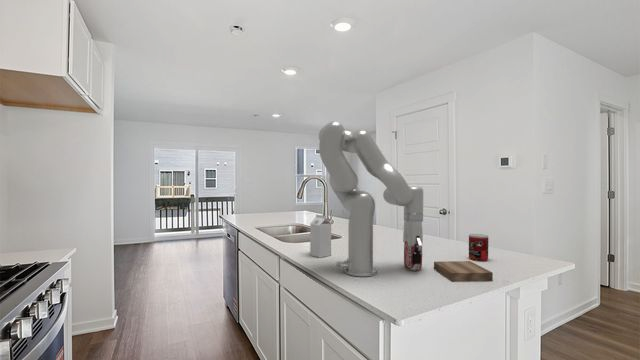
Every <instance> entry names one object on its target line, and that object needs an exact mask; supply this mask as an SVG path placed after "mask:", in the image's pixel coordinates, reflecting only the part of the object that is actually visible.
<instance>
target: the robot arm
mask: <svg viewBox="0 0 640 360" xmlns="http://www.w3.org/2000/svg"><path fill="white" fill-rule="evenodd" d="M318 139H319V147H318V149H319V150H318V151H319V157H320V160H321V161H322V164H323V165H324V167H325V169H326V170H327V172H328V174H329V179H328V180H329V184H330V187H331V189H332V190H333V193H334V195H336V197H337V198H338V199H337V200H339V201H340V203H341V205H342V206H343V208H344V209H345V210H346V211H348V212H349V217H348V231H347V233H348V247H347V248H348V249H347V250H348V252H347V253H348V255H347V257H348V258H346V260H344V261H341V260H339V261H338V260H337V261H336V262H335V263H336V267H339V268H341V269H342V268H344V269H343V270H344V273H345V274H346V275H350V276H354V277H372V276H374V275H377V272H378V269H377V268H376V267H374V217H375V210H376V202H375V199H374V197H373V195H372V194H370V193H369V192H368V191H364V190H360V189H359V187H358V185H359V178H358V175H357V173H356V172H355V170H354V169H353V168H352V167H353V166H351V164H350V163H349V161H348V159H347V157H346V156H345V154H344V152H346V153H350V154H356V155H357V157H358V158H359V160H360V161H361V163H362V166H364V168H365V169H366V172H367V173H369V174H370V175H371V176H373V177H374V178H376V179H377V180H378V181H380V182H381V183H382V184H383V185H384V186H385V187H386V188H385V190H384V191H383V194H382V195H383V199H384V201H385V202H386V203H387V204H390V205H392V206H393V205H394V206H399V207H403V221H404V223H403V231H402V232H403V233H402V234H403V235H402V242H403V243H405V241H407V243H408V246H410V247H412V246H413V253H414V254H413V260H412V263H413V264H421V250H422V251H423V243H424V242H423V240H424V238H423V237H424V236H423V235H424V234H423V222H424V189H423V187H422V186H409V184H408V182H406V180H405V179H406V178H404V176H403V175H402V174H401V172H399V171H398V170H397V169H396V168H395V167H394V166H393V165H392V164H391V163H390V162H389V161H388V159H386V157H385V155H384V154H383V153H382V151H381V149H380V148H379V145H377V142H376V141H375V140H374V137H372V135H371V134H370V133H369V132H368V131H367V130H364V129H360V130H356V131H347V130H345V127H344V125H343V124H342V123H341V122H339V121H330V122H328V123H327V124H325V125H324V126H323V127H322V128H321V129H320V130H319V132H318ZM406 239H407V240H406ZM415 244H417V245H418V246H414V245H415ZM415 248H416V250H415Z"/></svg>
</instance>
